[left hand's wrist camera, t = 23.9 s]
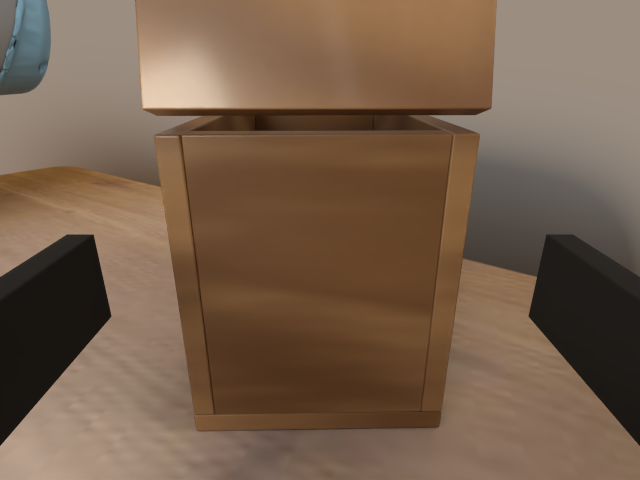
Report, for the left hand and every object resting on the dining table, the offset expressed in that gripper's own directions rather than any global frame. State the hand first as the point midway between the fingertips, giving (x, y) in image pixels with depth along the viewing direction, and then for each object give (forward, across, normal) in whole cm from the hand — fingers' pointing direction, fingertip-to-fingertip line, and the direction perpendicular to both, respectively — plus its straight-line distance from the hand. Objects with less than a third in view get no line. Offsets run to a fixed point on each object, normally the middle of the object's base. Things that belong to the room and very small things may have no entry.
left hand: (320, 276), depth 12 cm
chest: (+9, 0, -7) cm, 12 cm away
